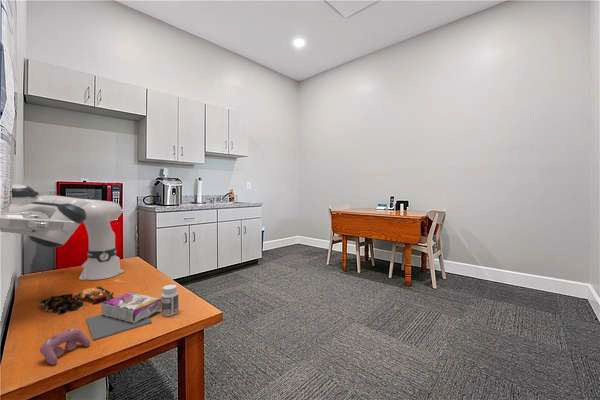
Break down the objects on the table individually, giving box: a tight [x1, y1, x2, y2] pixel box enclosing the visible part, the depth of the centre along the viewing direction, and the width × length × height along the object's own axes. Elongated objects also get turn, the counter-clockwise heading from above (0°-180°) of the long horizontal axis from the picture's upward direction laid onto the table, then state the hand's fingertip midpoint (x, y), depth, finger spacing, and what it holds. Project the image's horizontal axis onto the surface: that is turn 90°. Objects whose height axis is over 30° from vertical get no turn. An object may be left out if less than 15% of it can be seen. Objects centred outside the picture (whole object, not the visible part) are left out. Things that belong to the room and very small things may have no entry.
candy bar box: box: [101, 292, 161, 324], centre depth 97 cm, size 11×5×16 cm
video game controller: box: [39, 328, 91, 366], centre depth 73 cm, size 10×5×7 cm, turn 165°
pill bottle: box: [160, 284, 179, 317], centre depth 98 cm, size 6×6×10 cm
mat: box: [85, 313, 153, 341], centre depth 91 cm, size 18×16×1 cm
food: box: [38, 286, 114, 315], centre depth 107 cm, size 22×19×4 cm
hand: (40, 225), depth 88 cm, fingers closed
